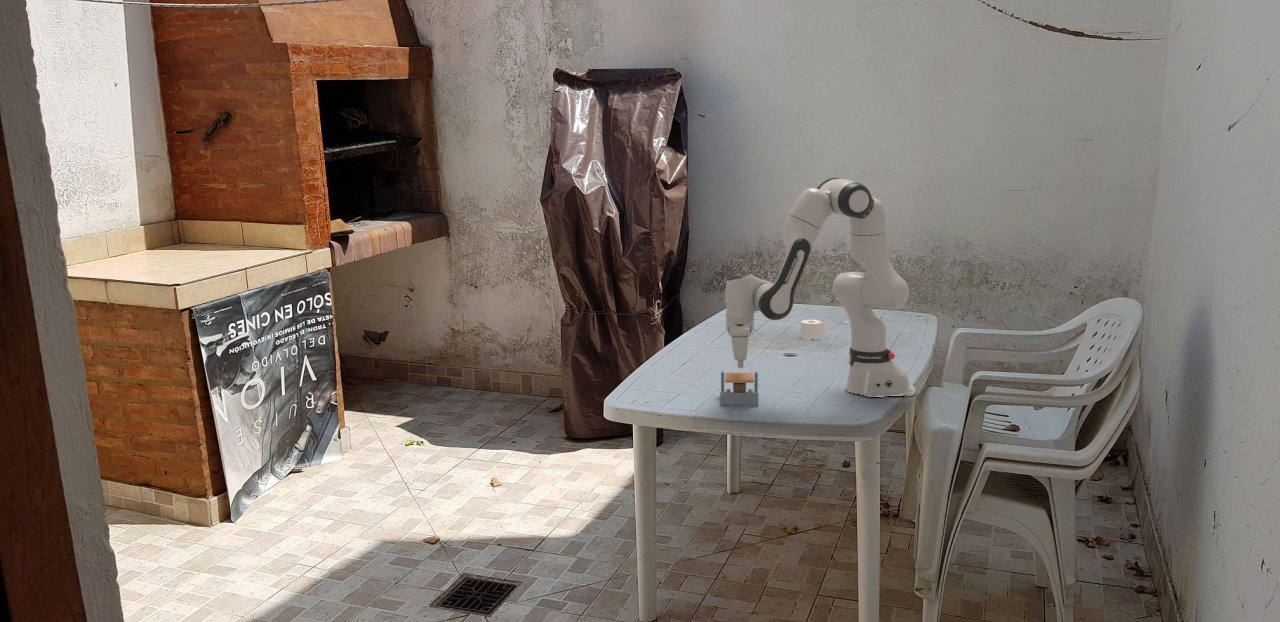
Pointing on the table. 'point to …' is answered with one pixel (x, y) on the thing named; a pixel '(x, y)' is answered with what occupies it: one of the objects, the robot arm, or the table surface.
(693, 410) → the table surface
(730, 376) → the lid
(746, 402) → the housing base
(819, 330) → the toilet paper
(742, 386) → the block
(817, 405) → the table surface
